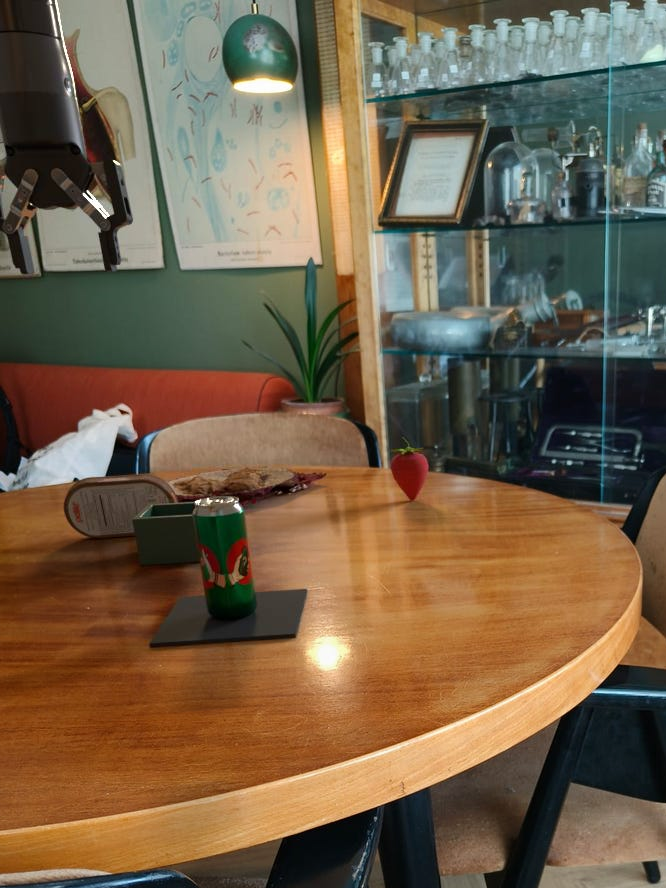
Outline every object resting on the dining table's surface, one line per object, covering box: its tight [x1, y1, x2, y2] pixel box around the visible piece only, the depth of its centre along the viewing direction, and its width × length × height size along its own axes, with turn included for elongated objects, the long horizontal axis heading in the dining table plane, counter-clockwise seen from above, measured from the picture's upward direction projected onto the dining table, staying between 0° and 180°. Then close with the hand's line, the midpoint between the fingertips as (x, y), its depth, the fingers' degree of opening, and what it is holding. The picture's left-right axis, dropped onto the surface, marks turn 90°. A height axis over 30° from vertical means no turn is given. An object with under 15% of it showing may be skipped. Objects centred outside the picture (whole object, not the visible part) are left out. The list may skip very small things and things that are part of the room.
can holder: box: [132, 501, 200, 566], centre depth 114 cm, size 8×8×6 cm
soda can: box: [192, 496, 257, 620], centre depth 90 cm, size 5×5×12 cm
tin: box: [63, 473, 178, 539], centre depth 124 cm, size 15×3×8 cm, turn 102°
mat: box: [148, 588, 308, 648], centre depth 92 cm, size 14×14×1 cm
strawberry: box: [389, 436, 429, 502], centre depth 138 cm, size 6×8×10 cm
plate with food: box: [167, 466, 327, 507], centre depth 149 cm, size 24×26×4 cm
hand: (69, 272), depth 93 cm, fingers open, 8 cm apart
